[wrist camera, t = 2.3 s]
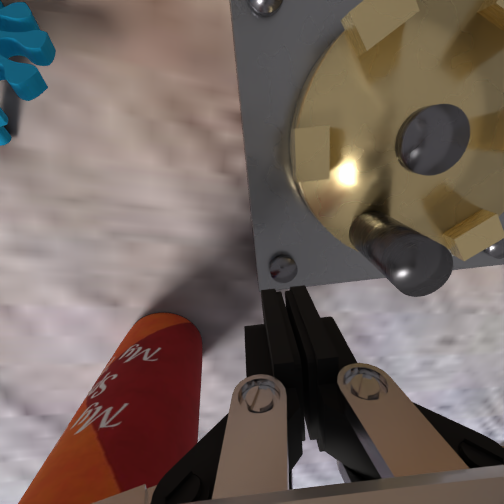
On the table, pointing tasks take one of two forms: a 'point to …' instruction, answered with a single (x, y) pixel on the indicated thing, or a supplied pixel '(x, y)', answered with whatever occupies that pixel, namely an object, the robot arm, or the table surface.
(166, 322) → the coffee cup
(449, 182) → the brass paddle wheel
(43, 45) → the gear
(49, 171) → the table surface
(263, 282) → the base plate
